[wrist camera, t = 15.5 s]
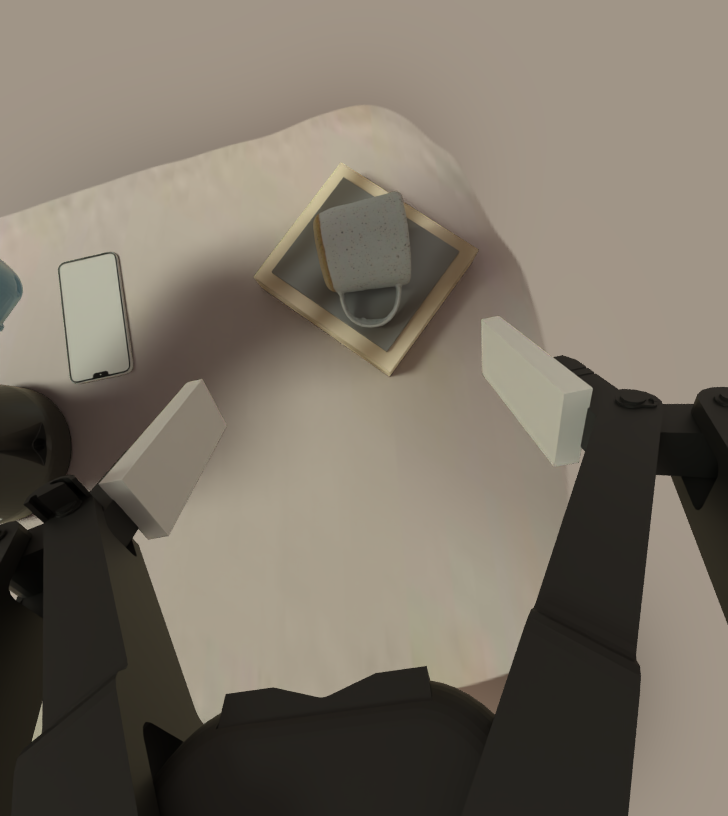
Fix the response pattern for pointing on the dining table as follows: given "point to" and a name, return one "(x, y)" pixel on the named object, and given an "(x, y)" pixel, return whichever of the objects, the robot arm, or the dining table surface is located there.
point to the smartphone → (95, 318)
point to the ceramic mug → (364, 249)
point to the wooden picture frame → (420, 299)
